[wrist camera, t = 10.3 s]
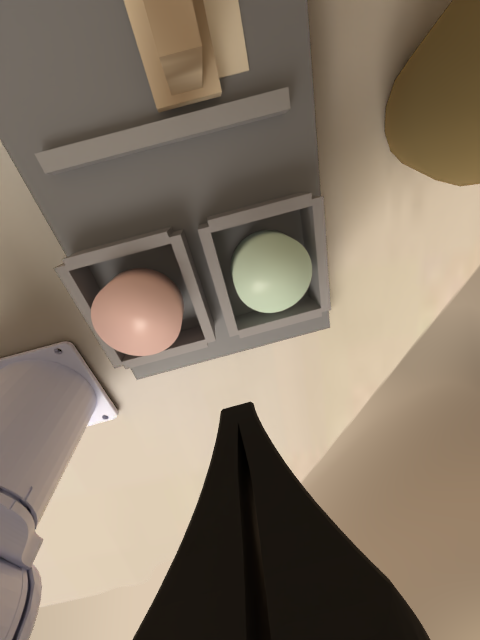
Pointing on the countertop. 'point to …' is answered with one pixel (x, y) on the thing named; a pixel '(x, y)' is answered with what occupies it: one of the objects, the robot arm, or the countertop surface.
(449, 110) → the squeeze bottle
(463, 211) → the countertop surface
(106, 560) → the countertop surface
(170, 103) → the tan wooden step block
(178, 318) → the pink button
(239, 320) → the panel
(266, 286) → the mint button
